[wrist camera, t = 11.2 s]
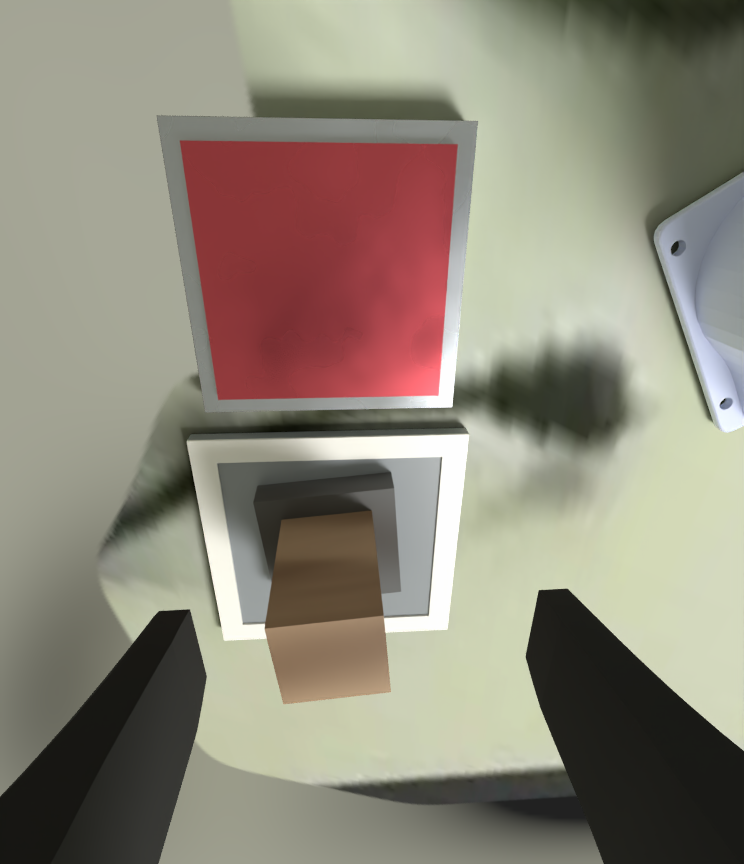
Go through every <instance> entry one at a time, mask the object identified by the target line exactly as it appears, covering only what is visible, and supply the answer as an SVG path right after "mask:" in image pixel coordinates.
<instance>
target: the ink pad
mask: <svg viewBox="0 0 744 864" xmlns="http://www.w3.org/2000/svg"><path fill="white" fill-rule="evenodd" d="M157 121H158V127H159V133H160V139H161V145H162V151H163V158H164V163H165V169H166V176H167V182H168V188H169V194H170V200H171V207H172V212H173V219H174V225H175V231H176V237H177V243H178V249H179V255H180V261H181V267H182V274H183V280H184V286H185V292H186V298H187V304H188V310H189V316H190V322H191V328H192V335H193V340H194V347H195V353H196V359H197V365H198V371H199V378H200V384H201V390H202V396H203V402H204V408H205V412H243V411H291V410H338V409H386V408H433V407H452V402H453V391H454V380H455V369H456V358H457V347H458V335H459V324H460V313H461V302H462V291H463V280H464V269H465V258H466V247H467V236H468V225H469V214H470V203H471V192H472V181H473V170H474V159H475V148H476V137H477V126H478V121H446V120H387V119H328V118H270V117H210V116H157Z"/></svg>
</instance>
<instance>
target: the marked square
mask: <svg viewBox="0 0 744 864" xmlns="http://www.w3.org/2000/svg"><path fill="white" fill-rule="evenodd" d="M468 440H469V433H468V431H467V430H466V428H433V429H391V430H349V431H307V432H265V433H223V434H191V435H190V436H189V438H188V440H187V446H188V452H189V457H190V462H191V468H192V473H193V478H194V483H195V489H196V494H197V499H198V505H199V510H200V515H201V521H202V526H203V531H204V537H205V542H206V547H207V552H208V558H209V563H210V568H211V574H212V579H213V584H214V590H215V595H216V600H217V605H218V611H219V616H220V621H221V627H222V632H223V637H224V641H228V640H247V639H267V637H266V633H265V629H264V628H265V621H266V615H267V609H268V602H269V596H270V590H271V578H270V574H269V570H268V565H267V561H266V557H265V552H264V548H263V544H262V539H261V535H260V531H259V526H258V522H257V518H256V513H255V509H254V505H253V501H254V497H255V493H256V489H257V486H258V485H268V484H278V483H288V482H297V481H307V480H317V479H327V478H337V477H347V476H356V475H366V474H376V473H386V472H391V474H392V479H393V484H394V491H395V507H396V522H397V537H398V552H399V567H400V582H401V592H394V593H385V594H381V595H382V604H383V613H384V623H385V633H386V632H405V631H425V630H445V629H448V620H449V611H450V602H451V593H452V584H453V575H454V566H455V557H456V548H457V539H458V530H459V521H460V512H461V503H462V494H463V485H464V476H465V467H466V458H467V449H468Z"/></svg>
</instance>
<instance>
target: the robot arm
mask: <svg viewBox="0 0 744 864" xmlns="http://www.w3.org/2000/svg"><path fill="white" fill-rule="evenodd" d="M676 241H678V242H679V247H678V249H677V251H676V252H675V253H674V254H671V247H672V245H673V244H674V243H675V242H676ZM654 243H655V246H656V250H657V253H658V256H659V259H660V262H661V265H662V268H663V271H664V274H665V277H666V280H667V283H668V286H669V289H670V292H671V295H672V298H673V301H674V304H675V307H676V310H677V313H678V316H679V319H680V322H681V326H682V329H683V332H684V335H685V338H686V341H687V344H688V347H689V350H690V353H691V356H692V359H693V362H694V365H695V368H696V371H697V374H698V377H699V380H700V383H701V386H702V389H703V392H704V395H705V398H706V401H707V405H708V408H709V411H710V414H711V417H712V420H713V423H714V425H715V427H716V428H718V429H719V430H721V431H723V432H731V431H734V430H736V429H738V428H740V427H742V426H744V172H742V173H741V174H739V175H737V176H736V177H734V178H732V179H731V180H729V181H728V182H726V183H724V184H723V185H721V186H719V187H718V188H716V189H715V190H713V191H711V192H710V193H708V194H706V195H705V196H703V197H702V198H700V199H698V200H697V201H695V202H693V203H692V204H690V205H689V206H687V207H685V208H684V209H682V210H680V211H679V212H677V213H676V214H674V215H672V216H671V217H669V218H667V219H666V220H664V221H663V222H662V223H661V224H659V226H658V227H657V229H656V230H655V233H654ZM725 398H726V400H725V401H724V403H722V404H721V405H720V403H721V401H722V400H724V399H725ZM526 660H527V663H528V667H529V671H530V674H531V678H532V681H533V685H534V688H535V691H536V695H537V698H538V701H539V704H540V708H541V710H542V713H543V715H544V718H545V720H546V723H547V725H548V727H549V730H550V732H551V735H552V737H553V740H554V742H555V745H556V747H557V749H558V752H559V754H560V757H561V759H562V761H563V764H564V766H565V769H566V771H567V773H568V776H569V778H570V781H571V783H572V785H573V788H574V790H575V793H576V795H577V797H578V800H579V802H580V805H581V807H582V809H583V812H584V814H585V816H586V819H587V821H588V824H589V826H590V828H591V831H592V834H593V836H594V839H595V841H596V844H597V847H598V849H599V852H600V855H601V857H602V860H603V863H604V864H744V751H743V750H742V749H741V748H739V747H738V746H737V745H736V744H734V743H733V742H732V741H731V740H730V739H728V738H727V737H726V736H725V735H723V734H722V733H721V732H720V731H719V730H717V729H716V728H715V727H714V726H713V725H712V724H711V723H709V722H708V721H707V720H706V719H705V718H704V717H702V716H701V715H700V714H699V713H698V712H697V711H695V710H694V709H693V708H692V707H691V706H690V705H688V704H687V703H686V702H685V701H684V700H683V699H682V698H681V697H679V696H678V695H677V694H676V693H675V692H674V691H673V690H672V689H671V688H669V687H668V686H667V685H666V684H665V683H664V682H663V681H662V680H661V679H660V678H659V677H658V676H657V675H656V674H654V673H653V672H652V671H651V670H650V669H649V668H648V667H647V666H646V665H645V664H644V663H643V662H642V661H641V660H639V659H638V658H637V657H636V656H635V655H634V654H633V653H632V652H631V651H630V650H629V649H628V648H627V647H626V646H625V645H624V644H623V643H622V642H621V641H620V640H619V639H618V638H617V637H616V636H615V635H614V634H613V633H612V632H611V631H610V630H609V629H608V628H607V627H606V626H605V625H604V624H603V623H602V622H601V621H600V620H599V619H598V618H597V617H596V616H594V615H593V614H592V613H591V612H590V611H589V610H588V609H587V608H586V607H585V606H584V605H583V604H582V603H581V602H580V601H579V600H578V599H577V598H576V597H575V596H574V595H573V594H572V593H571V592H570V591H569V590H568V589H553V590H539V592H538V597H537V602H536V607H535V612H534V617H533V622H532V627H531V632H530V637H529V642H528V647H527V652H526ZM206 678H207V676H206V672H205V668H204V664H203V660H202V656H201V652H200V648H199V644H198V640H197V636H196V632H195V628H194V624H193V620H192V616H191V612H190V609H189V610H171V611H159V612H158V613H157V614H156V615H155V616H154V617H153V618H152V620H151V621H150V622H149V624H148V625H147V626H146V627H145V629H144V630H143V631H142V632H141V634H140V635H139V636H138V638H137V639H136V640H135V641H134V643H133V644H132V645H131V647H130V648H129V649H128V650H127V652H126V653H125V654H124V656H123V657H122V658H121V659H120V660H119V662H118V663H117V664H116V665H115V667H114V668H113V669H112V671H111V672H110V673H109V674H108V675H107V677H106V678H105V679H104V680H103V681H102V683H101V684H100V685H99V686H98V687H97V689H96V690H95V691H94V692H93V693H92V695H91V696H90V697H89V698H88V700H87V701H86V702H85V703H84V704H83V705H82V707H81V708H80V709H79V710H78V711H77V713H76V714H75V715H74V716H73V717H72V718H71V720H70V721H69V722H68V723H67V724H66V725H65V726H64V728H63V729H62V730H61V731H60V732H59V733H58V734H57V735H56V737H55V738H54V739H53V740H52V741H51V742H50V743H49V744H48V745H47V747H46V748H45V749H44V750H43V751H42V752H41V753H40V754H39V756H38V757H37V758H36V759H35V760H34V761H33V762H32V763H31V764H30V765H29V767H28V768H27V769H26V770H25V771H24V772H23V773H22V774H21V775H20V776H19V777H18V778H17V780H16V781H15V782H14V783H13V784H12V785H11V786H10V787H9V788H8V789H7V790H6V791H5V792H4V793H3V794H2V795H1V796H0V864H158V863H159V859H160V856H161V852H162V849H163V846H164V842H165V839H166V836H167V832H168V829H169V825H170V822H171V818H172V815H173V812H174V808H175V805H176V802H177V798H178V795H179V791H180V788H181V785H182V781H183V778H184V774H185V771H186V767H187V764H188V760H189V757H190V754H191V750H192V747H193V743H194V740H195V736H196V732H197V728H198V723H199V717H200V712H201V707H202V701H203V695H204V689H205V684H206Z"/></svg>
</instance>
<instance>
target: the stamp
mask: <svg viewBox="0 0 744 864" xmlns="http://www.w3.org/2000/svg"><path fill="white" fill-rule="evenodd" d="M253 505H254V509H255V513H256V518H257V522H258V526H259V531H260V535H261V539H262V544H263V548H264V552H265V557H266V561H267V565H268V570H269V574H270V578H271V590H270V596H269V602H268V609H267V615H266V621H265V628H264V629H265V633H266V637H267V641H268V645H269V649H270V653H271V657H272V661H273V665H274V669H275V673H276V677H277V680H278V684H279V688H280V692H281V696H282V700H283V704H290V703H298V702H307V701H316V700H325V699H334V698H343V697H351V696H360V695H369V694H378V693H387V692H391V689H390V678H389V667H388V656H387V645H386V634H385V623H384V613H383V604H382V595H381V594H385V593H394V592H401V582H400V567H399V552H398V537H397V522H396V507H395V491H394V484H393V479H392V474H391V472H386V473H376V474H366V475H356V476H347V477H337V478H327V479H317V480H307V481H297V482H288V483H278V484H268V485H258V486H257V489H256V493H255V497H254V501H253Z"/></svg>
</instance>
